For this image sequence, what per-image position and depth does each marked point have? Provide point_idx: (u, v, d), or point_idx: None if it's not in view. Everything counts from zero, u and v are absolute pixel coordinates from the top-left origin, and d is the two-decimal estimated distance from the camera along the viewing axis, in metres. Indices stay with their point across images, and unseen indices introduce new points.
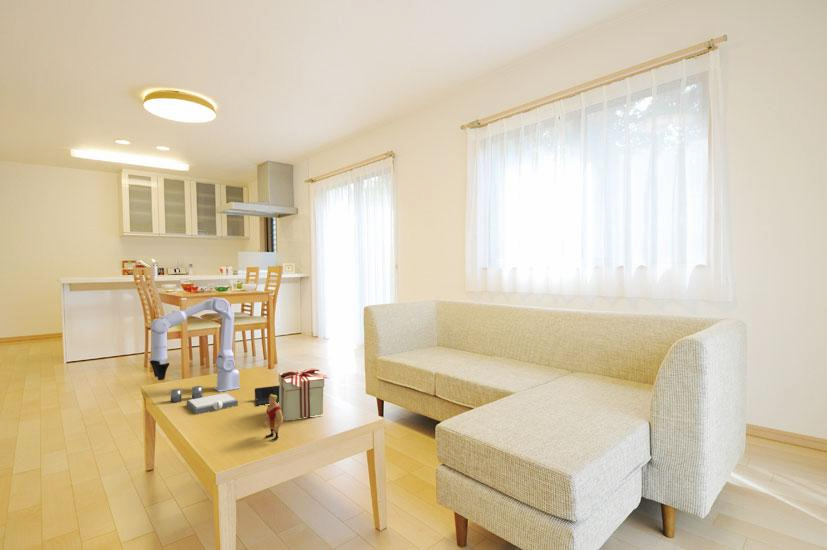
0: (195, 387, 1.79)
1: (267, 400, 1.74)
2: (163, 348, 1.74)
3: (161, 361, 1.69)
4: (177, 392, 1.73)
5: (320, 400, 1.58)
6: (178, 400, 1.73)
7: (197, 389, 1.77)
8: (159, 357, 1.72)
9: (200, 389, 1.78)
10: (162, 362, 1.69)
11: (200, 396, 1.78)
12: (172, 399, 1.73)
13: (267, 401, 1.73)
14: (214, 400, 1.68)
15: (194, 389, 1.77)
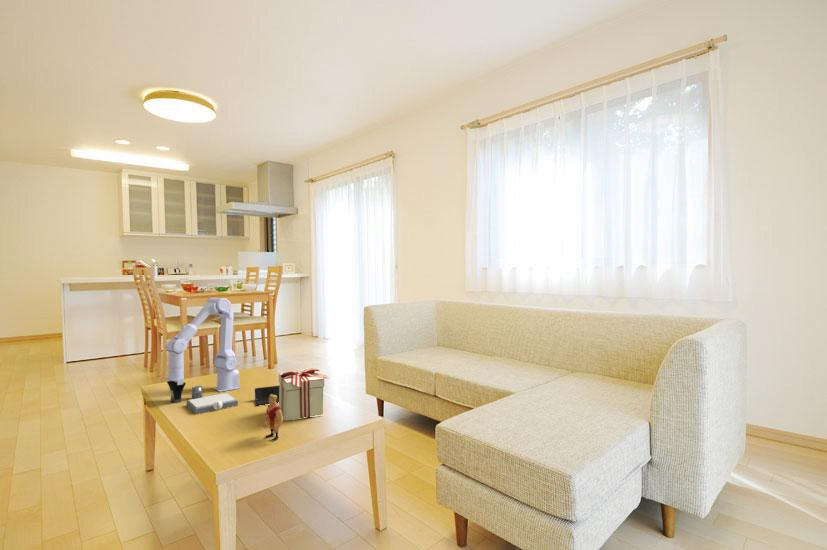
0: (195, 387, 1.79)
1: (267, 400, 1.74)
2: (180, 368, 1.73)
3: (179, 382, 1.69)
4: None
5: (320, 400, 1.58)
6: (178, 400, 1.73)
7: (197, 389, 1.77)
8: (176, 377, 1.72)
9: (200, 389, 1.78)
10: (179, 383, 1.69)
11: (200, 396, 1.78)
12: (172, 399, 1.73)
13: (267, 401, 1.73)
14: (214, 400, 1.68)
15: (194, 389, 1.77)
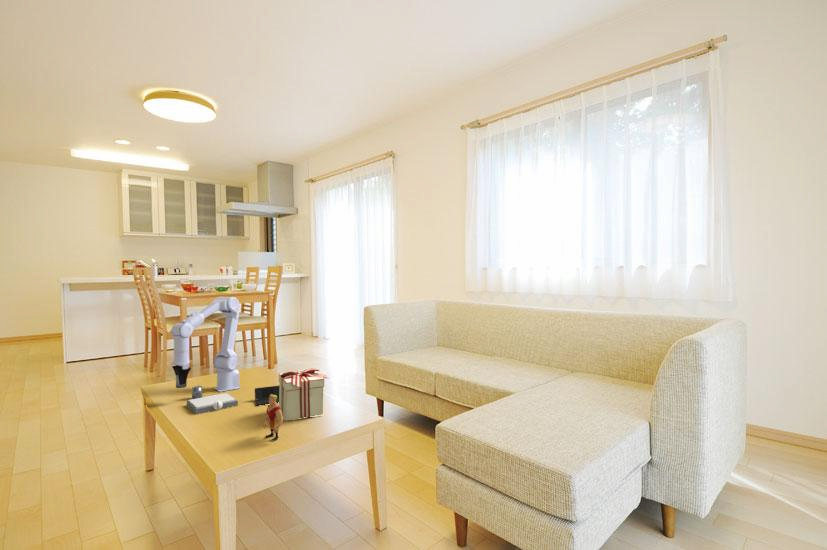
0: (195, 387, 1.79)
1: (267, 400, 1.74)
2: (185, 353, 1.72)
3: (184, 366, 1.67)
4: None
5: (320, 400, 1.58)
6: (183, 385, 1.72)
7: (197, 389, 1.77)
8: (181, 362, 1.70)
9: (200, 389, 1.78)
10: (185, 367, 1.67)
11: (200, 396, 1.78)
12: (177, 384, 1.71)
13: (267, 401, 1.73)
14: (214, 400, 1.68)
15: (194, 389, 1.77)
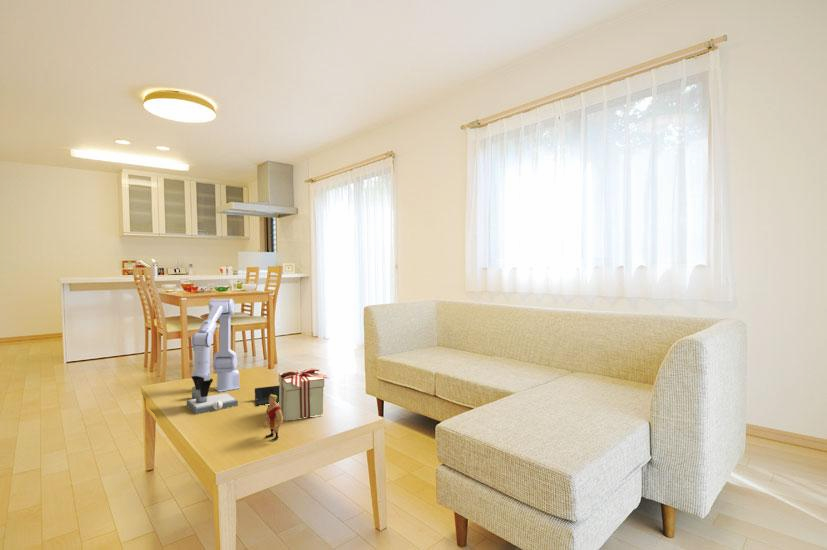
0: None
1: (267, 400, 1.74)
2: (206, 363, 1.65)
3: (205, 377, 1.61)
4: None
5: (320, 400, 1.58)
6: (204, 400, 1.66)
7: None
8: (202, 373, 1.64)
9: None
10: (206, 378, 1.61)
11: None
12: (197, 399, 1.65)
13: (267, 401, 1.73)
14: (214, 400, 1.68)
15: (194, 389, 1.77)
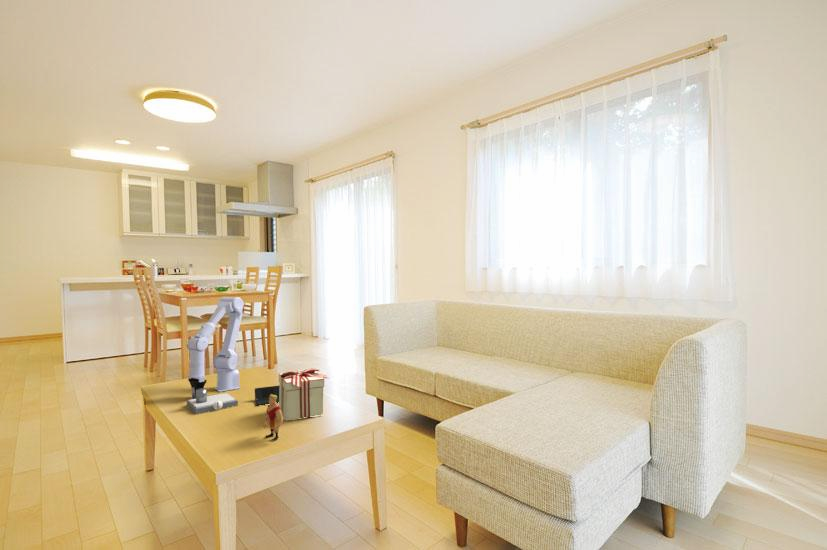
0: None
1: (267, 400, 1.74)
2: (201, 366, 1.78)
3: (200, 379, 1.73)
4: (203, 392, 1.65)
5: (320, 400, 1.58)
6: (204, 400, 1.66)
7: None
8: (197, 375, 1.77)
9: None
10: (201, 380, 1.74)
11: None
12: (197, 399, 1.65)
13: (267, 401, 1.73)
14: (214, 400, 1.68)
15: (194, 389, 1.77)
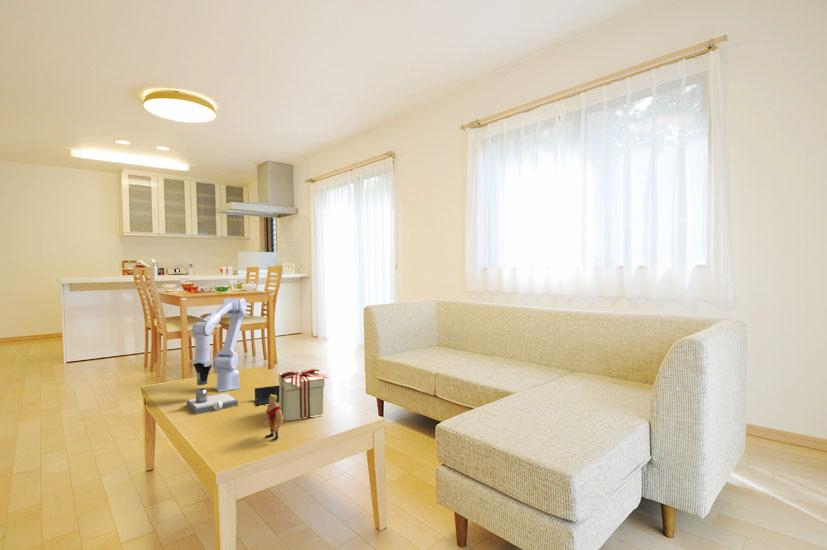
0: None
1: (267, 400, 1.74)
2: (206, 351, 1.76)
3: (205, 363, 1.72)
4: (202, 392, 1.65)
5: (320, 400, 1.58)
6: (204, 400, 1.66)
7: None
8: (203, 359, 1.75)
9: None
10: (206, 364, 1.72)
11: (205, 381, 1.77)
12: (197, 399, 1.65)
13: (267, 401, 1.73)
14: (214, 400, 1.68)
15: (199, 374, 1.76)
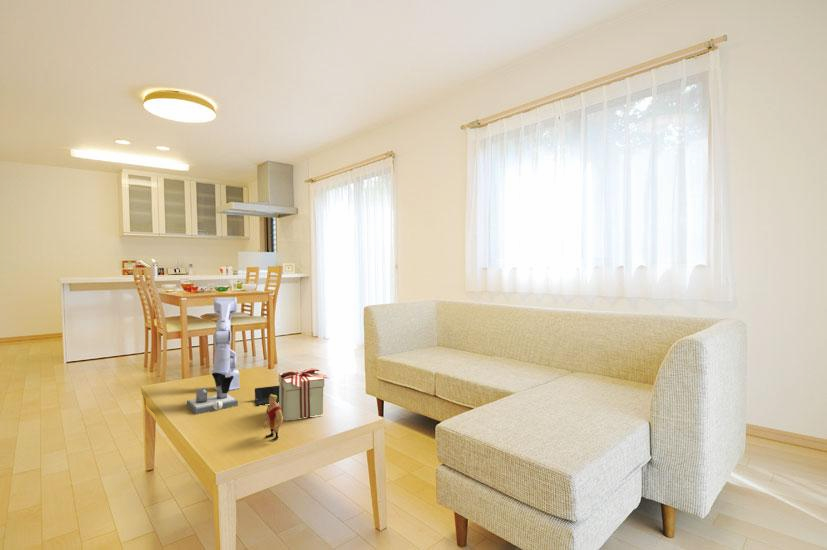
0: (220, 386, 1.72)
1: (267, 400, 1.74)
2: (227, 360, 1.71)
3: (226, 374, 1.66)
4: (203, 391, 1.65)
5: (320, 400, 1.58)
6: (204, 400, 1.66)
7: None
8: (223, 370, 1.70)
9: None
10: (227, 375, 1.67)
11: (225, 395, 1.71)
12: (198, 399, 1.65)
13: (267, 401, 1.73)
14: (214, 400, 1.68)
15: (218, 388, 1.70)
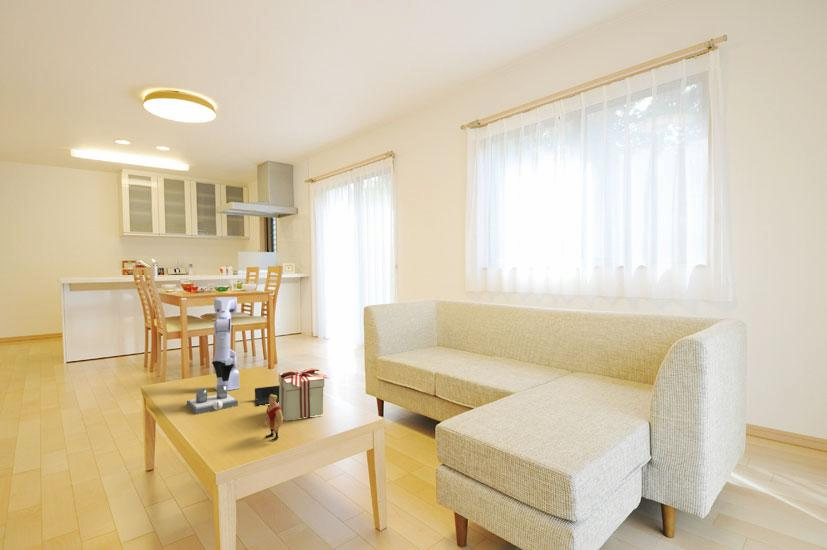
0: (220, 386, 1.72)
1: (267, 400, 1.74)
2: (227, 349, 1.71)
3: (227, 362, 1.66)
4: (204, 392, 1.65)
5: (320, 400, 1.58)
6: (204, 400, 1.66)
7: (222, 388, 1.70)
8: (223, 358, 1.70)
9: (225, 388, 1.71)
10: (227, 363, 1.67)
11: (225, 395, 1.71)
12: (198, 399, 1.65)
13: (267, 401, 1.73)
14: (214, 400, 1.68)
15: (218, 388, 1.70)
